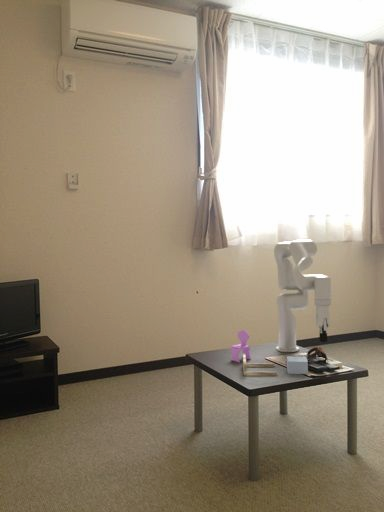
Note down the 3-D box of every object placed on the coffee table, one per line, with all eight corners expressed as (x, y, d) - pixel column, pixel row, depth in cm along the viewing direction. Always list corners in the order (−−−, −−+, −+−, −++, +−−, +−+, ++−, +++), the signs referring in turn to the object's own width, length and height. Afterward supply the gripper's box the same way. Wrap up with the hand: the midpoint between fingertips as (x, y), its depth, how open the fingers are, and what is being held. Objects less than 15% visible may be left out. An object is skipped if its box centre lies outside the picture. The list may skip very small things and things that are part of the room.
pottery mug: (328, 365, 233) (319, 351, 233) (311, 372, 238) (302, 358, 237) (331, 353, 244) (323, 340, 243) (314, 360, 248) (306, 346, 248)
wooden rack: (243, 365, 234) (242, 353, 234) (274, 366, 233) (274, 353, 232) (243, 375, 218) (243, 362, 218) (277, 375, 217) (277, 363, 217)
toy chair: (229, 359, 246) (228, 331, 245) (241, 356, 251) (241, 328, 250) (240, 363, 239) (239, 333, 238) (252, 360, 244) (252, 331, 244)
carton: (286, 368, 229) (286, 356, 229) (305, 368, 228) (305, 356, 227) (288, 374, 220) (287, 361, 220) (307, 374, 219) (307, 361, 219)
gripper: (312, 300, 229) (312, 338, 229) (317, 304, 214) (318, 345, 214) (327, 300, 228) (328, 338, 229) (334, 304, 213) (335, 345, 214)
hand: (323, 341), depth 222 cm, fingers closed
